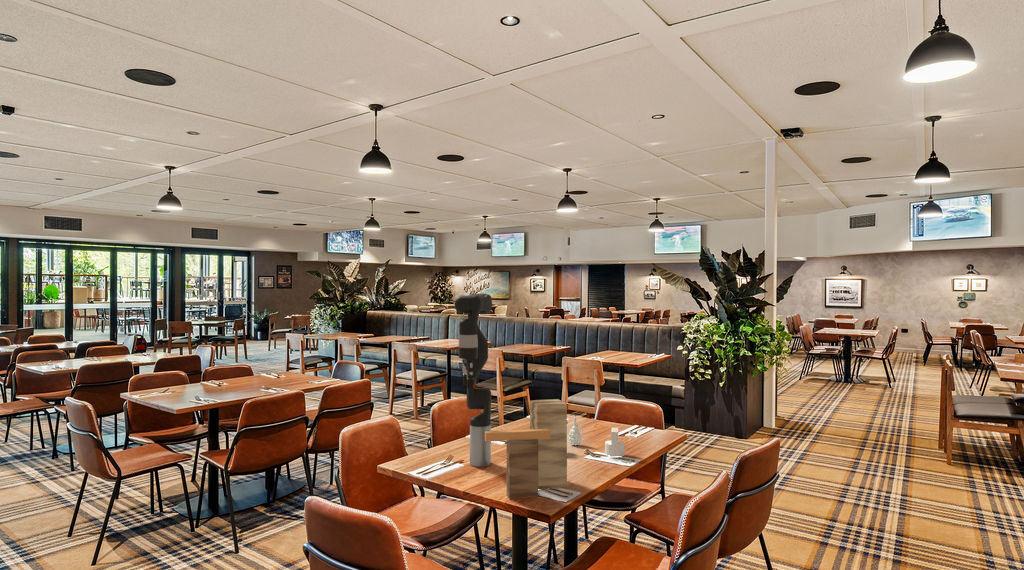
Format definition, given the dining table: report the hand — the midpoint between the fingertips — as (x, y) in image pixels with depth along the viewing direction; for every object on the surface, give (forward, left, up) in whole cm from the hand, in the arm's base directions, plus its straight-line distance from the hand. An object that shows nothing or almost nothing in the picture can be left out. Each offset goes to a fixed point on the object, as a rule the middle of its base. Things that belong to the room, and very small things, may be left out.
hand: (468, 387), depth 218 cm
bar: (+17, +16, -17) cm, 28 cm away
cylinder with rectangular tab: (-23, +73, -38) cm, 86 cm away
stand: (+6, +31, -38) cm, 49 cm away
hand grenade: (-44, +62, -38) cm, 85 cm away
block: (+16, +18, -38) cm, 45 cm away
